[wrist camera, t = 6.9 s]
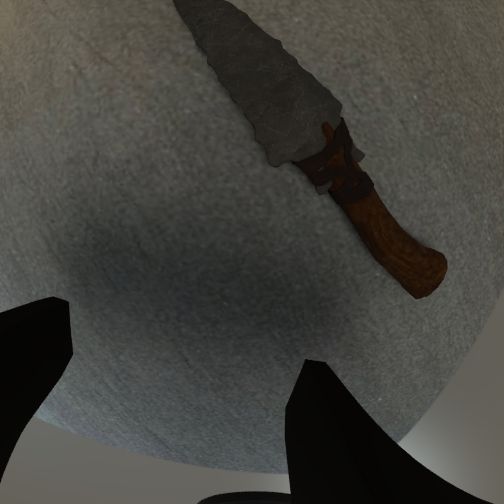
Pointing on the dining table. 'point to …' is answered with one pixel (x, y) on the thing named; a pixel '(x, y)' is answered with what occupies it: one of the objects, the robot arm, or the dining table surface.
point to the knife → (306, 133)
